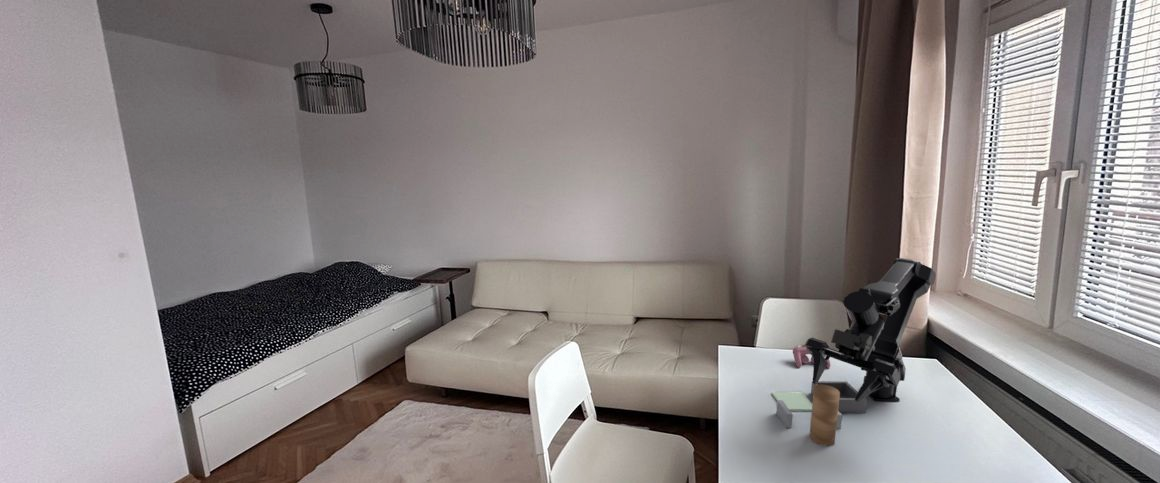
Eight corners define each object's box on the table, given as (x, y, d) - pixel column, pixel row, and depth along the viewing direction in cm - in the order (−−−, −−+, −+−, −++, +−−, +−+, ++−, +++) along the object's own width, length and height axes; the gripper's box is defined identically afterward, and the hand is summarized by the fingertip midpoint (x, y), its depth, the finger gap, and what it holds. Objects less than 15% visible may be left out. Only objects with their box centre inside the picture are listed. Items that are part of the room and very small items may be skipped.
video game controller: (825, 368, 134) (822, 344, 135) (832, 368, 129) (829, 344, 131) (792, 367, 134) (789, 344, 136) (798, 367, 130) (795, 343, 132)
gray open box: (845, 393, 116) (846, 381, 116) (865, 412, 108) (866, 400, 107) (810, 393, 117) (811, 381, 116) (827, 412, 108) (829, 399, 107)
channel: (827, 413, 108) (829, 400, 107) (840, 428, 102) (842, 414, 101) (776, 413, 108) (777, 400, 108) (786, 427, 102) (787, 414, 102)
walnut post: (827, 432, 100) (832, 384, 98) (839, 446, 96) (844, 396, 93) (805, 432, 101) (809, 384, 98) (815, 446, 96) (820, 396, 93)
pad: (802, 394, 117) (802, 392, 116) (816, 411, 109) (816, 409, 109) (771, 393, 117) (771, 392, 117) (783, 410, 109) (783, 409, 109)
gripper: (812, 305, 105) (782, 359, 101) (901, 329, 90) (871, 394, 86) (825, 329, 111) (798, 381, 107) (912, 355, 96) (884, 417, 92)
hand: (834, 392), depth 98 cm, fingers open, 9 cm apart
